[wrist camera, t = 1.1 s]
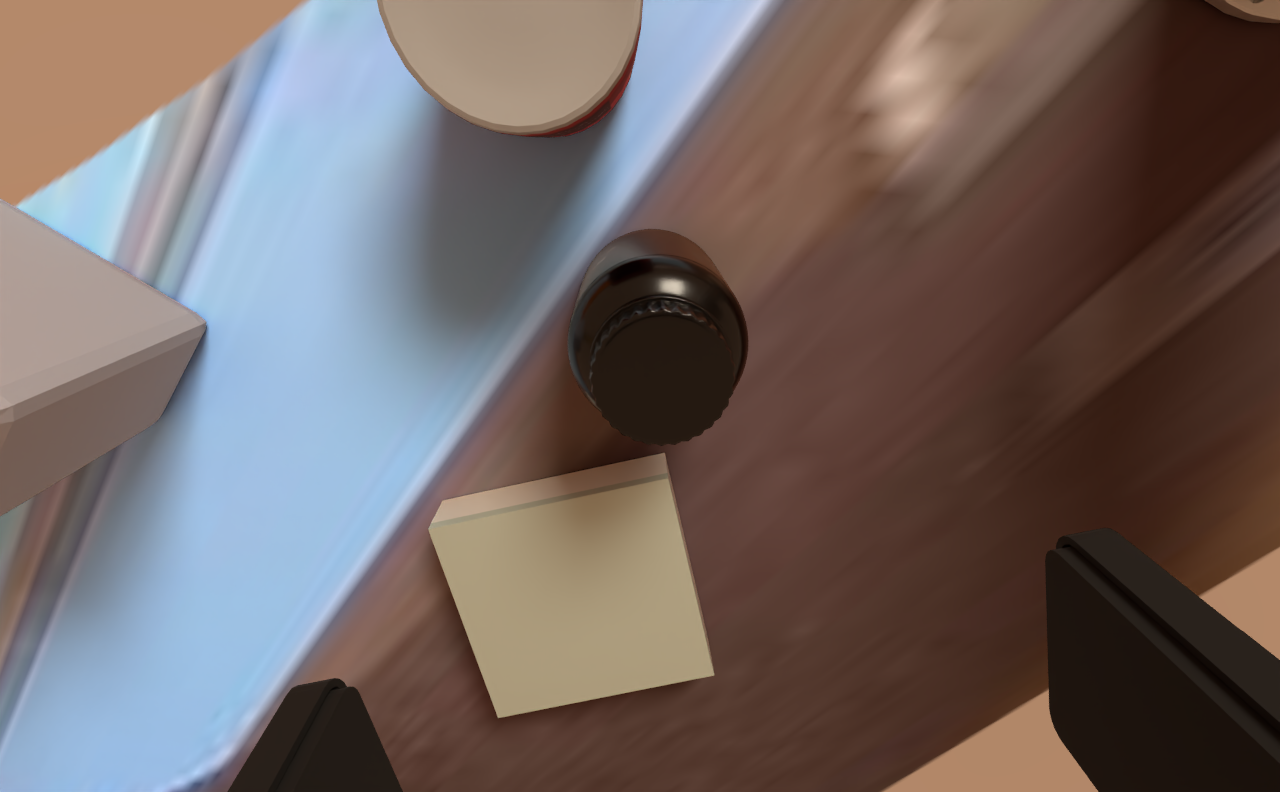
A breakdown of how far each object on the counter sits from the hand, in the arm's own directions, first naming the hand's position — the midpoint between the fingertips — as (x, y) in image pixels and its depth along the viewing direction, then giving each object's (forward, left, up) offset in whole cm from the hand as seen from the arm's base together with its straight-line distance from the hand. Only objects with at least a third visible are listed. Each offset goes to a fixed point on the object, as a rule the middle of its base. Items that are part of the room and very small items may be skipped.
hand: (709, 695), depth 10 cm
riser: (+7, +14, -26) cm, 30 cm away
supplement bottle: (0, 0, -26) cm, 26 cm away
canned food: (+2, -12, -26) cm, 29 cm away
